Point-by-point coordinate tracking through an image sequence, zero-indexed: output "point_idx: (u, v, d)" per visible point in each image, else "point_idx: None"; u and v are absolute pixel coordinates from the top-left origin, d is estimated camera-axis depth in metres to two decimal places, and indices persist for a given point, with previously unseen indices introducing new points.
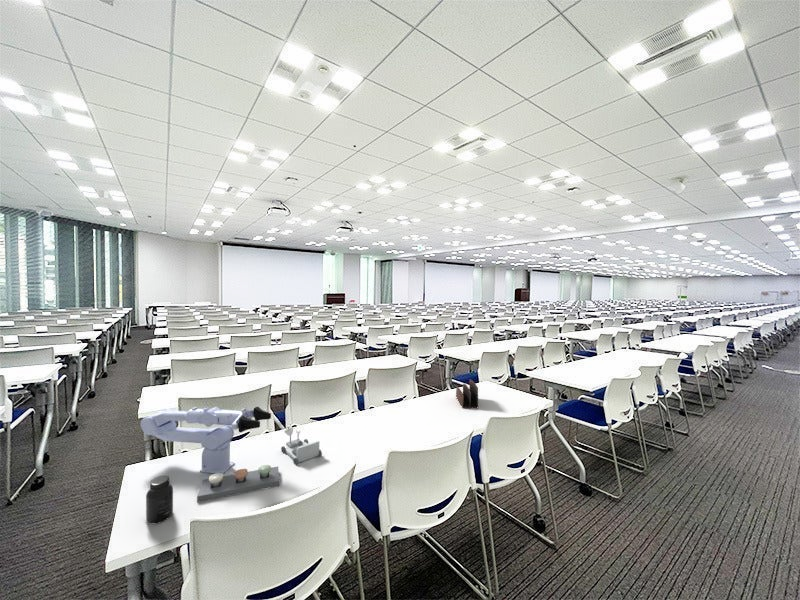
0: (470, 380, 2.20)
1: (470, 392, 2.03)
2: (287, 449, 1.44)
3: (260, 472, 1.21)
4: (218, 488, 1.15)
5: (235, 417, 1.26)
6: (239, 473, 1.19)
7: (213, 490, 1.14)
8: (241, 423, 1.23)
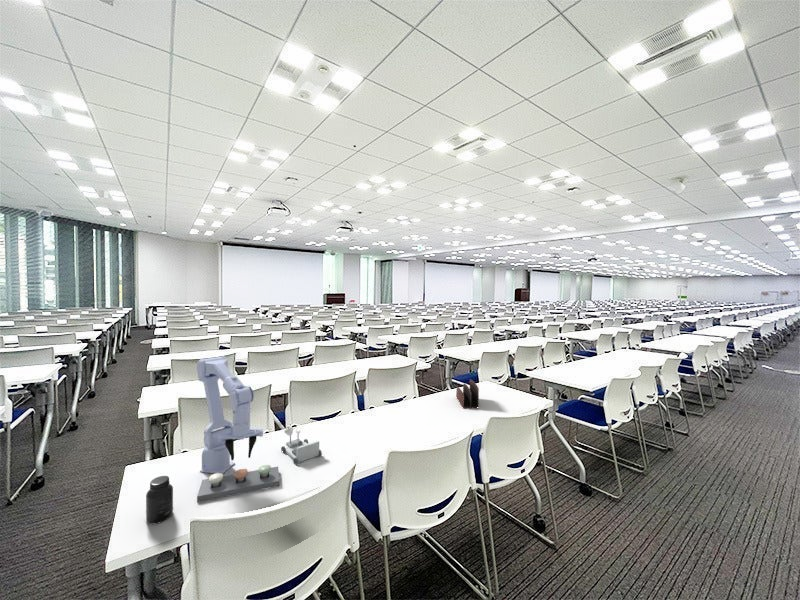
0: (470, 380, 2.20)
1: (471, 392, 2.03)
2: (287, 449, 1.44)
3: (260, 472, 1.21)
4: (218, 488, 1.15)
5: (233, 431, 1.17)
6: (239, 473, 1.19)
7: (213, 490, 1.14)
8: None
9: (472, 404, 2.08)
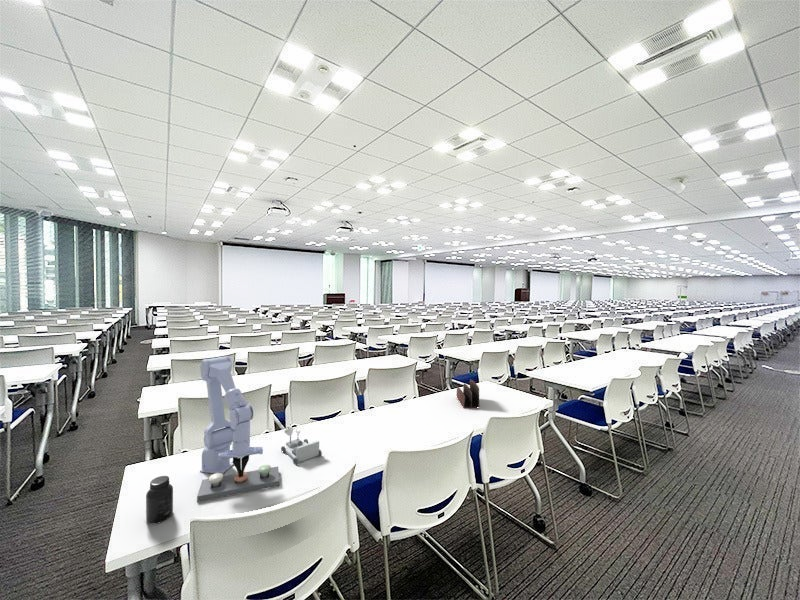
0: (470, 380, 2.20)
1: (471, 392, 2.03)
2: (287, 449, 1.44)
3: (260, 472, 1.21)
4: (218, 488, 1.15)
5: (233, 449, 1.17)
6: None
7: (213, 490, 1.14)
8: None
9: (473, 404, 2.08)
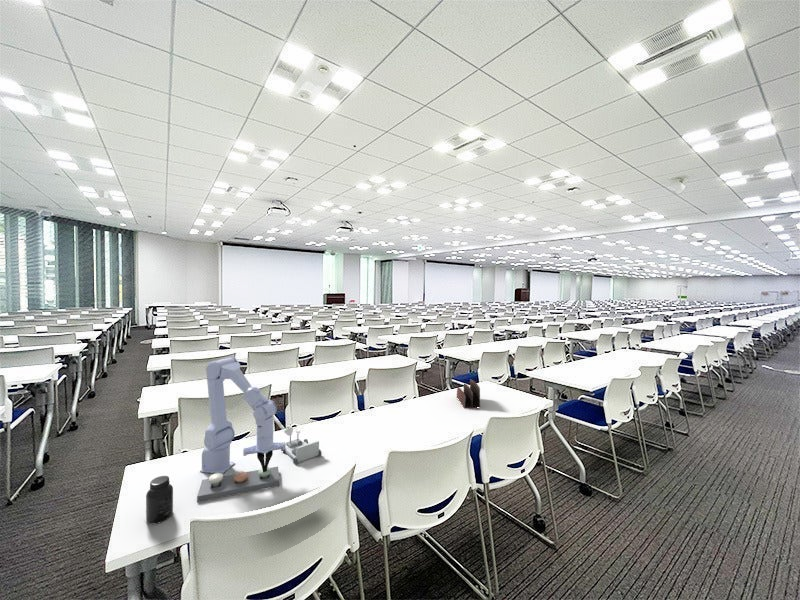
0: (471, 380, 2.20)
1: (472, 392, 2.03)
2: (287, 449, 1.44)
3: (260, 474, 1.21)
4: (218, 488, 1.15)
5: (257, 444, 1.20)
6: (239, 476, 1.19)
7: (213, 490, 1.14)
8: None
9: (473, 404, 2.08)
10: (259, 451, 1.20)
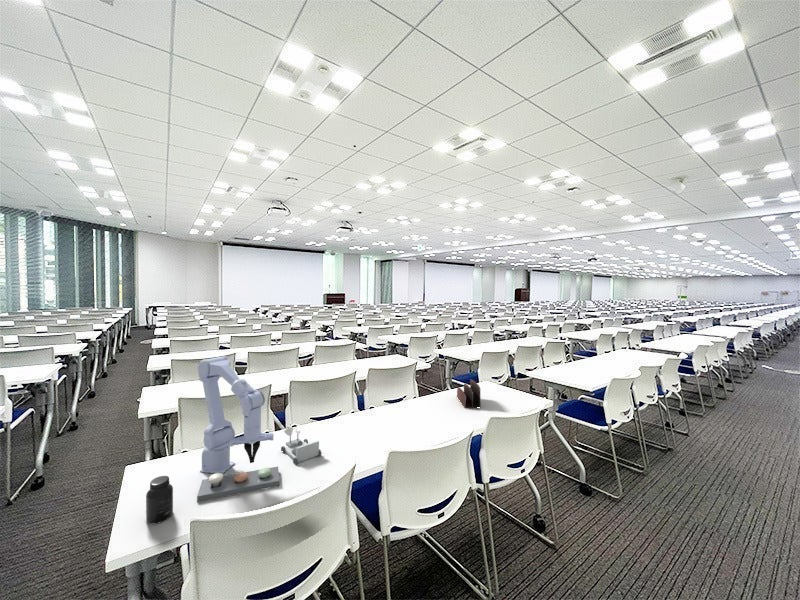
0: (471, 380, 2.20)
1: (472, 392, 2.03)
2: (287, 449, 1.44)
3: (260, 475, 1.21)
4: (218, 488, 1.15)
5: (244, 435, 1.18)
6: (239, 476, 1.19)
7: (213, 490, 1.14)
8: None
9: (474, 404, 2.08)
10: (246, 442, 1.18)
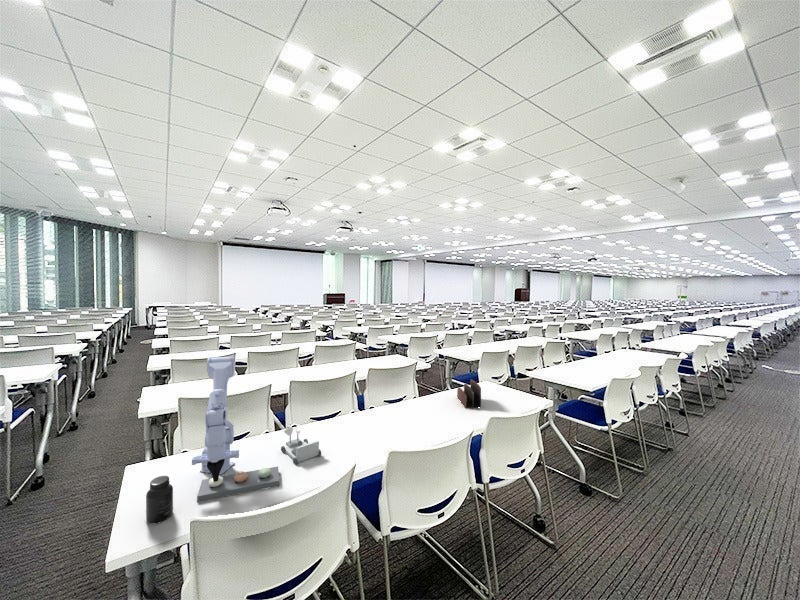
0: (471, 380, 2.20)
1: (473, 392, 2.03)
2: (287, 449, 1.44)
3: (260, 475, 1.21)
4: (218, 488, 1.15)
5: (207, 453, 1.14)
6: (239, 476, 1.19)
7: (213, 490, 1.14)
8: None
9: (474, 404, 2.07)
10: (209, 460, 1.13)
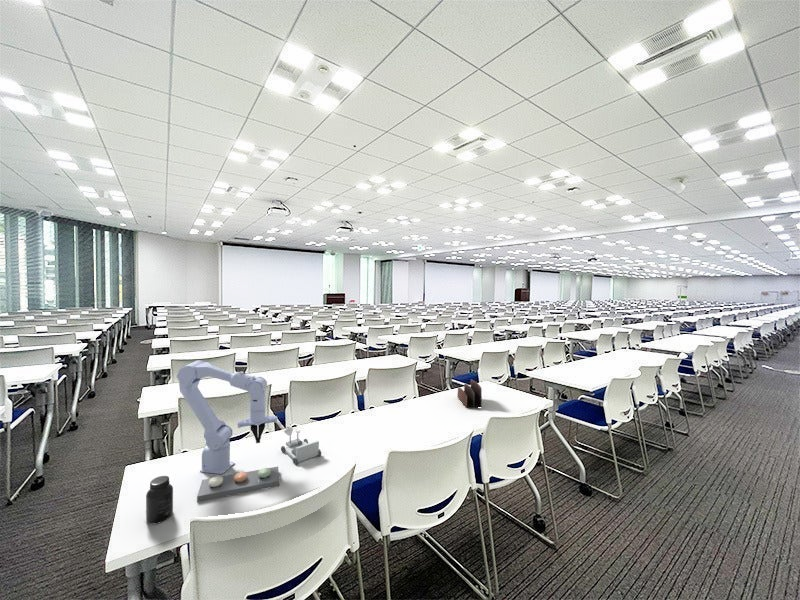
0: (471, 380, 2.19)
1: (474, 392, 2.03)
2: (287, 449, 1.44)
3: (260, 475, 1.21)
4: (218, 488, 1.15)
5: (250, 417, 1.29)
6: (239, 476, 1.19)
7: (213, 490, 1.14)
8: None
9: (475, 404, 2.07)
10: (252, 423, 1.28)
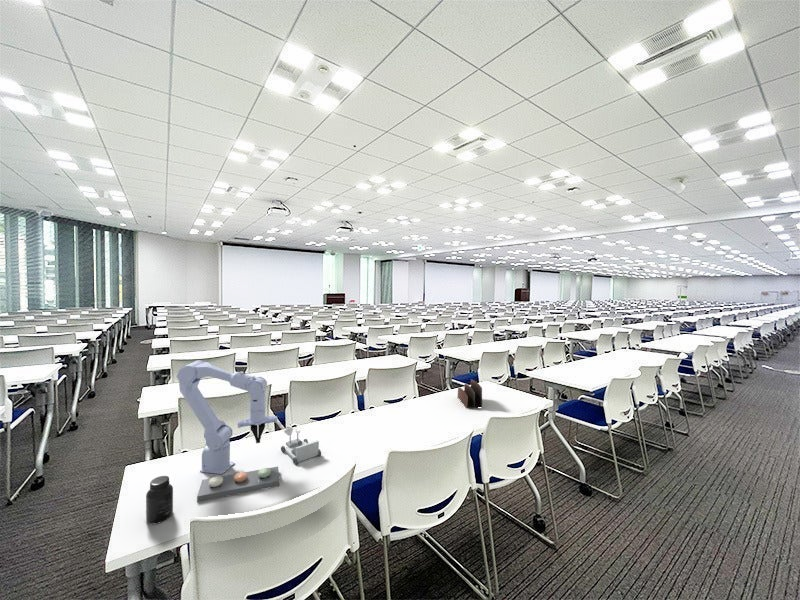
0: (472, 380, 2.19)
1: (474, 392, 2.03)
2: (287, 449, 1.44)
3: (260, 475, 1.21)
4: (218, 488, 1.15)
5: (250, 417, 1.29)
6: (239, 476, 1.19)
7: (213, 490, 1.14)
8: None
9: (475, 404, 2.07)
10: (252, 423, 1.28)
